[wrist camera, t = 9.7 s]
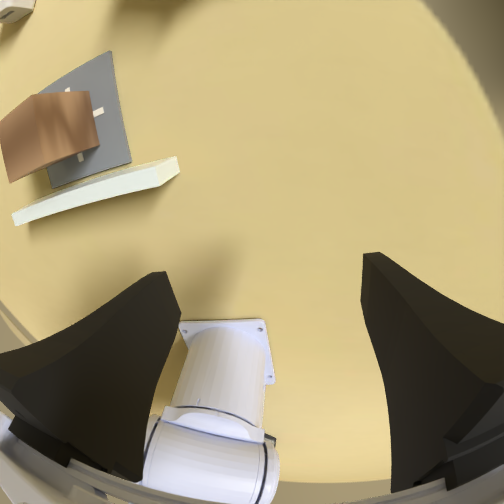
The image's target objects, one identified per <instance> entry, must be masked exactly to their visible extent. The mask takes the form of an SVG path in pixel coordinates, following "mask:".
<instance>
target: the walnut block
mask: <svg viewBox="0 0 504 504" xmlns="http://www.w3.org/2000/svg"><path fill="white" fill-rule="evenodd" d="M0 144H1V149H2V154H3V158H4V163H5V167H6V171H7V175H8V179H9V183H12V182H14V181H16V180H18V179H21V178H23V177H25V176H27V175H29V174H32V173H34V172H36V171H39V170H41V169H43V168H46V167H48V166H51V165H53V164H56V163H58V162H61V161H63V160H65V159H67V158H70V157H72V156H74V155H77V154H79V153H81V152H84V151H86V150H88V149H91V148H93V147H96V146H98V145H100V143H99V139H98V135H97V130H96V125H95V120H94V115H93V110H92V105H91V99H90V93H89V91H69V92H54V93H44V94H34V95H31V96H30V97H28V98H27V99H26V100H25V101H23V102H22V103H21V104H20V105H18V106H17V107H16V108H15V109H14V110H12V111H11V112H10V113H9V114H8V115H7V116H6V117H4V118H3V119H2V120H1V121H0Z"/></svg>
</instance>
